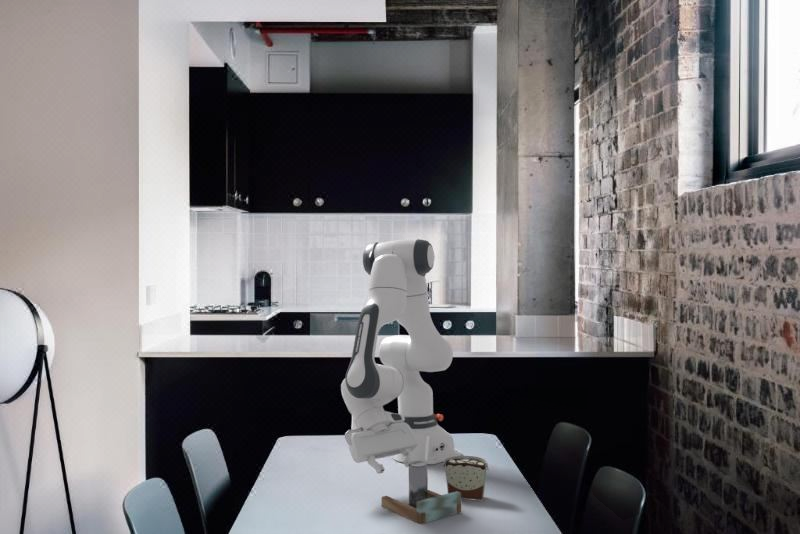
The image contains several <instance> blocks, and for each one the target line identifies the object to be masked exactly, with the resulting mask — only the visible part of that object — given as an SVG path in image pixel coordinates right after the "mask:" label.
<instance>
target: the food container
mask: <svg viewBox="0 0 800 534" xmlns="http://www.w3.org/2000/svg"><path fill="white" fill-rule="evenodd" d="M442 463H443V464H442V468H445V480H446V487H447V489H446V490H447V494H448V493H452V492H456V491H458V492H461V498H463V499H462V500H470V499H475V500H474V501H480V500H483V501H484V497H485V485H486V475H487V471H489V465H488V462H487V460H486V459H485V458H482V457H479V456H474V455H461V456H454V457H449V458H446V459H445V461H443V462H442Z"/></svg>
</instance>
